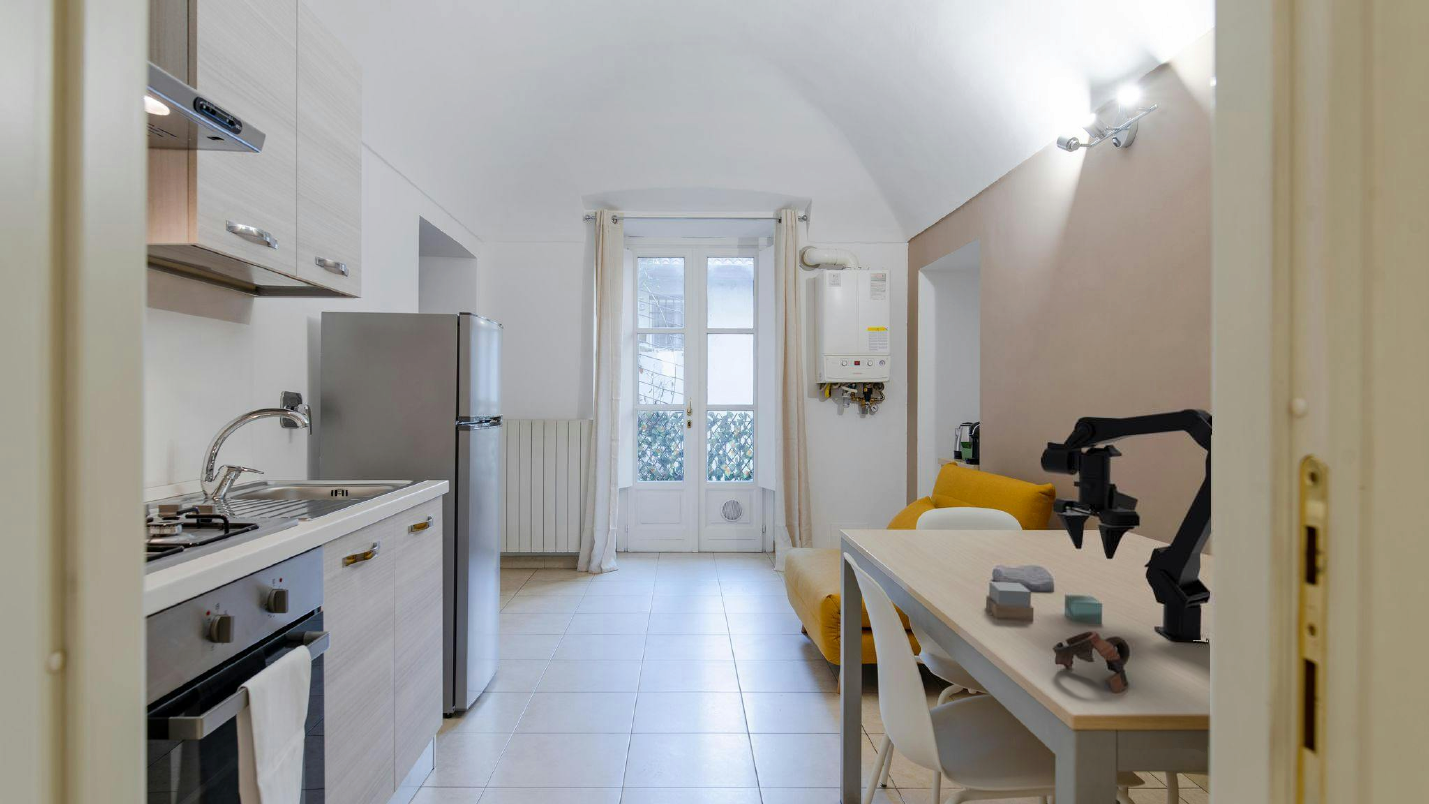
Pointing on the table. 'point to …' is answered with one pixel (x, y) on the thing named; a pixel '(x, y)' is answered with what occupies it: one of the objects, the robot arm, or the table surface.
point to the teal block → (1083, 608)
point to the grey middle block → (1010, 594)
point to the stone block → (1025, 577)
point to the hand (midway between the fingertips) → (1093, 553)
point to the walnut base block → (1009, 611)
